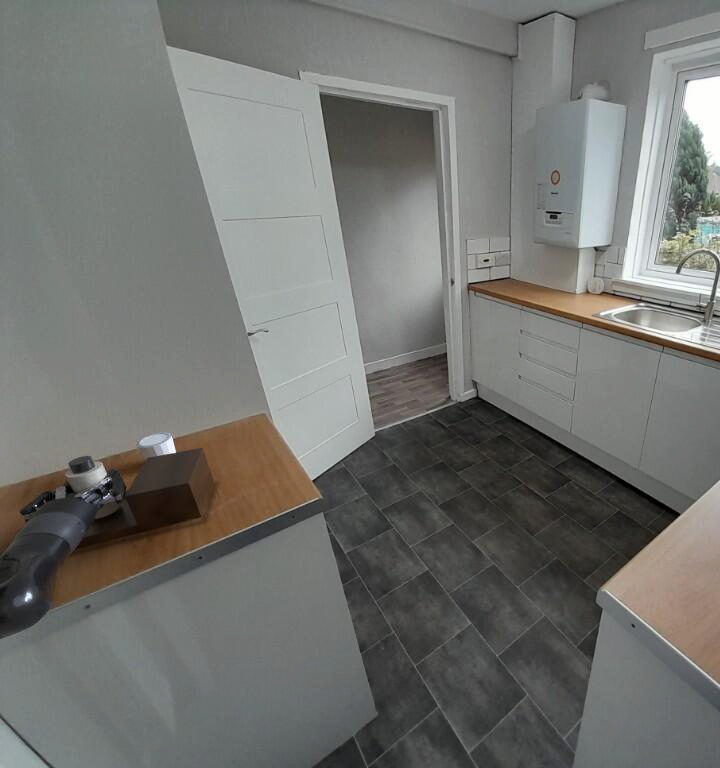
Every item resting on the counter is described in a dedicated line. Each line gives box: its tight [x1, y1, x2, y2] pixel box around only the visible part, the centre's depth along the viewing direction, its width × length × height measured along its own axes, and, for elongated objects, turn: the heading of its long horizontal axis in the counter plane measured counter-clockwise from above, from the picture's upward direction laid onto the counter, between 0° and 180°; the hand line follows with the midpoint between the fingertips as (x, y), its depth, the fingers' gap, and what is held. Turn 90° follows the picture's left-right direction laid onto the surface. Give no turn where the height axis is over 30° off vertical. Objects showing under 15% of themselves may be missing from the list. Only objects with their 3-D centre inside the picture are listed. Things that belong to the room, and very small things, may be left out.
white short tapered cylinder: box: [135, 431, 177, 461], centre depth 102 cm, size 7×7×7 cm
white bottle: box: [64, 455, 121, 519], centre depth 80 cm, size 5×5×12 cm
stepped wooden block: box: [75, 447, 215, 550], centre depth 84 cm, size 22×14×10 cm, turn 115°
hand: (96, 476), depth 82 cm, fingers closed on white bottle, 5 cm apart
